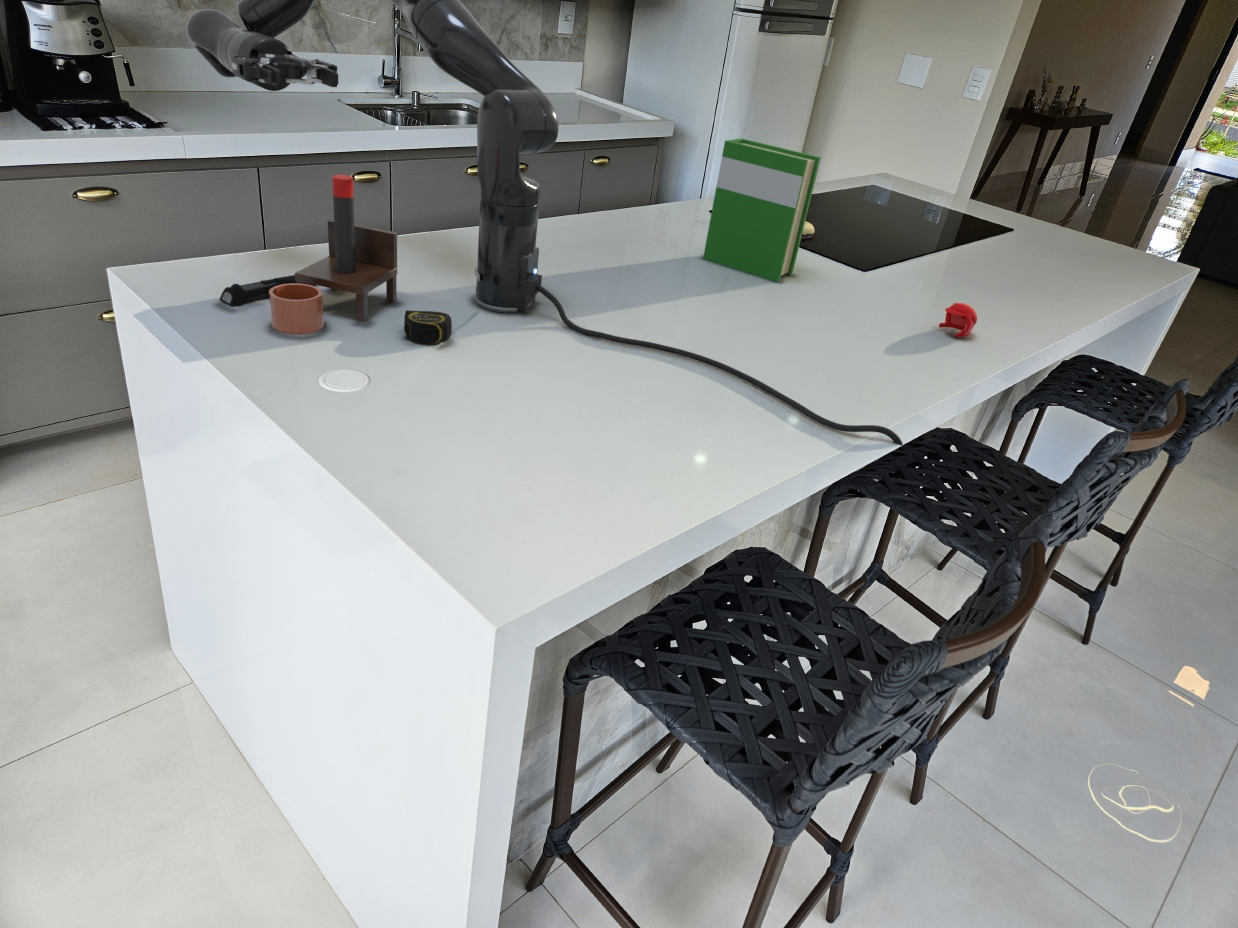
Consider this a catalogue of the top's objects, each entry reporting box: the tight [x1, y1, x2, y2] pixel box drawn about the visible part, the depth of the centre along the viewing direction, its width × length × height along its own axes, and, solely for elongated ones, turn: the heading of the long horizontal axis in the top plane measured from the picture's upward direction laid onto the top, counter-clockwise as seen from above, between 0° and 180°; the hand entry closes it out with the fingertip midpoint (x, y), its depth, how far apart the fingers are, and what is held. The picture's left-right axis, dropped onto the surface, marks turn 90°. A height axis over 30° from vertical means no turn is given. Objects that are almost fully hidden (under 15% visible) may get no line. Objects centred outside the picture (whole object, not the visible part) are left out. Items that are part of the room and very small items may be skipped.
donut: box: [801, 221, 815, 240], centre depth 206 cm, size 10×5×9 cm
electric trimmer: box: [219, 274, 317, 308], centre depth 129 cm, size 4×16×3 cm, turn 141°
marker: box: [331, 174, 356, 273], centre depth 124 cm, size 3×3×14 cm
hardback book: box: [702, 137, 822, 283], centre depth 172 cm, size 18×7×24 cm, turn 56°
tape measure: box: [403, 310, 453, 345], centre depth 123 cm, size 7×7×4 cm
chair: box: [294, 218, 398, 323], centre depth 128 cm, size 11×11×12 cm
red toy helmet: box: [938, 302, 978, 339], centre depth 157 cm, size 8×6×6 cm
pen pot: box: [268, 283, 325, 335], centre depth 120 cm, size 7×7×6 cm
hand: (307, 79), depth 122 cm, fingers open, 8 cm apart
